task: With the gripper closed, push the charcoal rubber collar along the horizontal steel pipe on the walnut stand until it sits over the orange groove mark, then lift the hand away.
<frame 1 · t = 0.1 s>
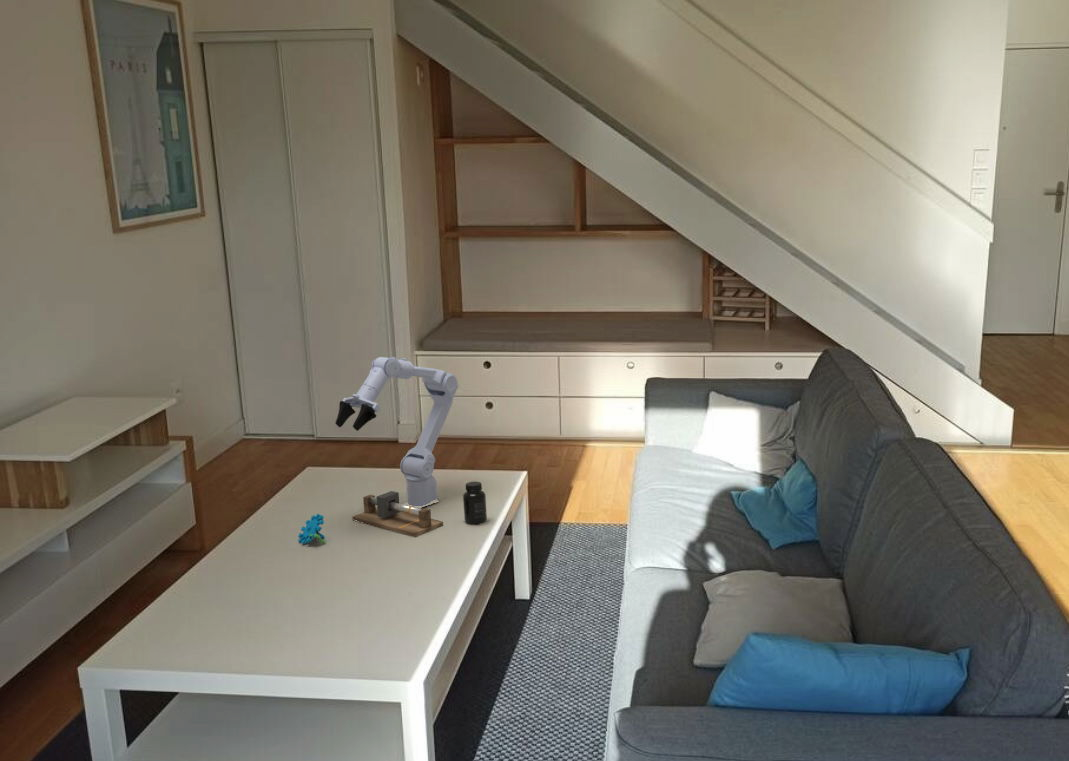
hand: (346, 427, 294), 32 cm above the table, tool tilted 50°, fingers open, 7 cm apart
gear: (312, 542, 292), on the table
supplement bottle: (475, 522, 305), on the table
collar: (388, 504, 307), point 5 cm above the table, slide at 0.0 cm
pipe stand: (397, 522, 306), on the table
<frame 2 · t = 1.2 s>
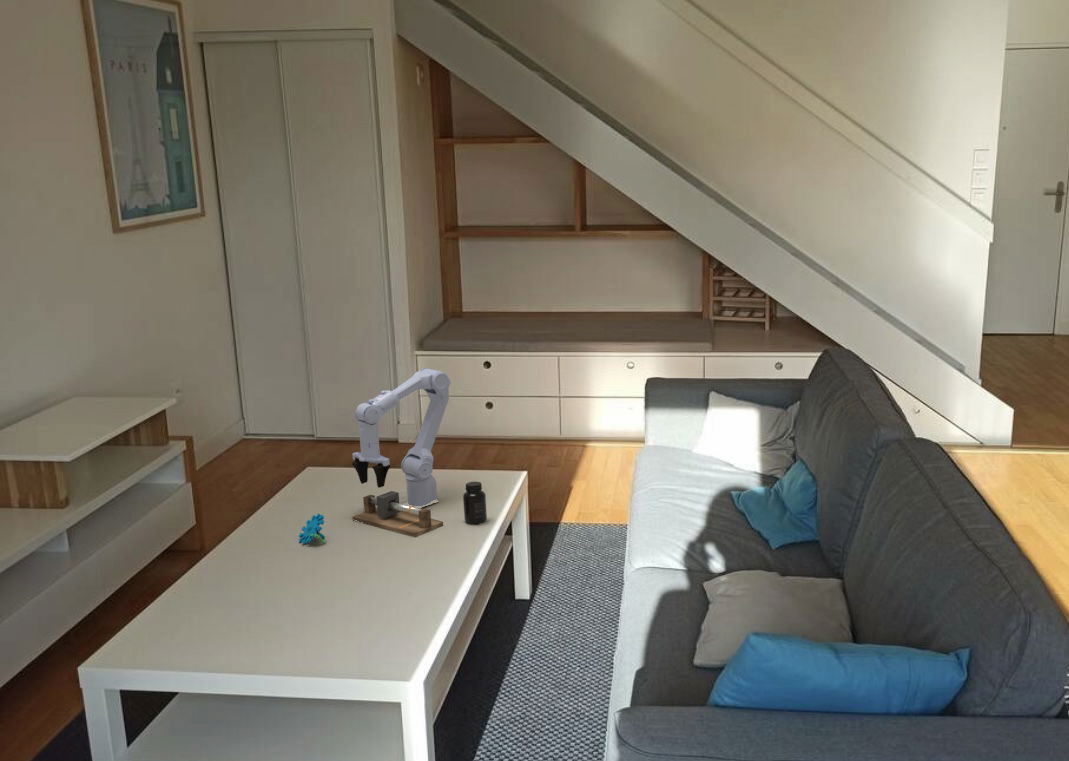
hand: (372, 484, 310), 10 cm above the table, tool pointing down, fingers open, 7 cm apart
nothing on the table moved.
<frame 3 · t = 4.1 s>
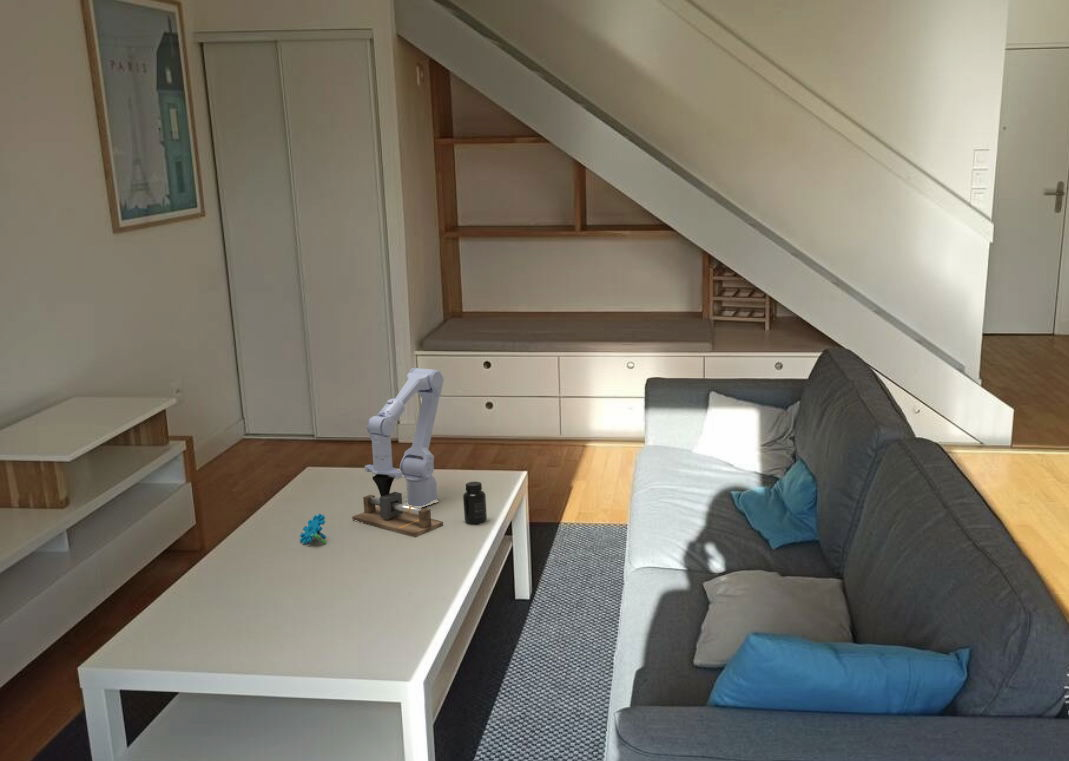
hand: (385, 497, 307), 7 cm above the table, tool pointing down, fingers closed
collar: (391, 505, 306), point 5 cm above the table, slide at 1.3 cm, touching gripper
everything else where it was.
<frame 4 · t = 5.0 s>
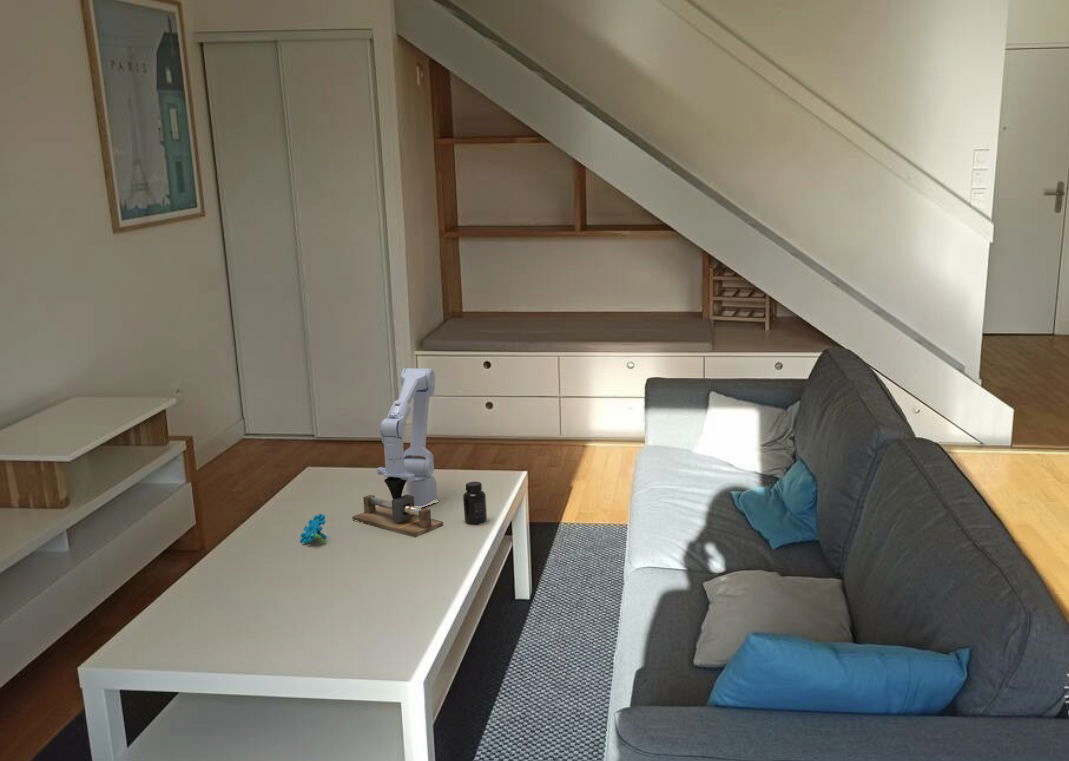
hand: (397, 500, 304), 7 cm above the table, tool pointing down, fingers closed
collar: (403, 508, 303), point 5 cm above the table, slide at 6.5 cm, touching gripper
everything else where it was.
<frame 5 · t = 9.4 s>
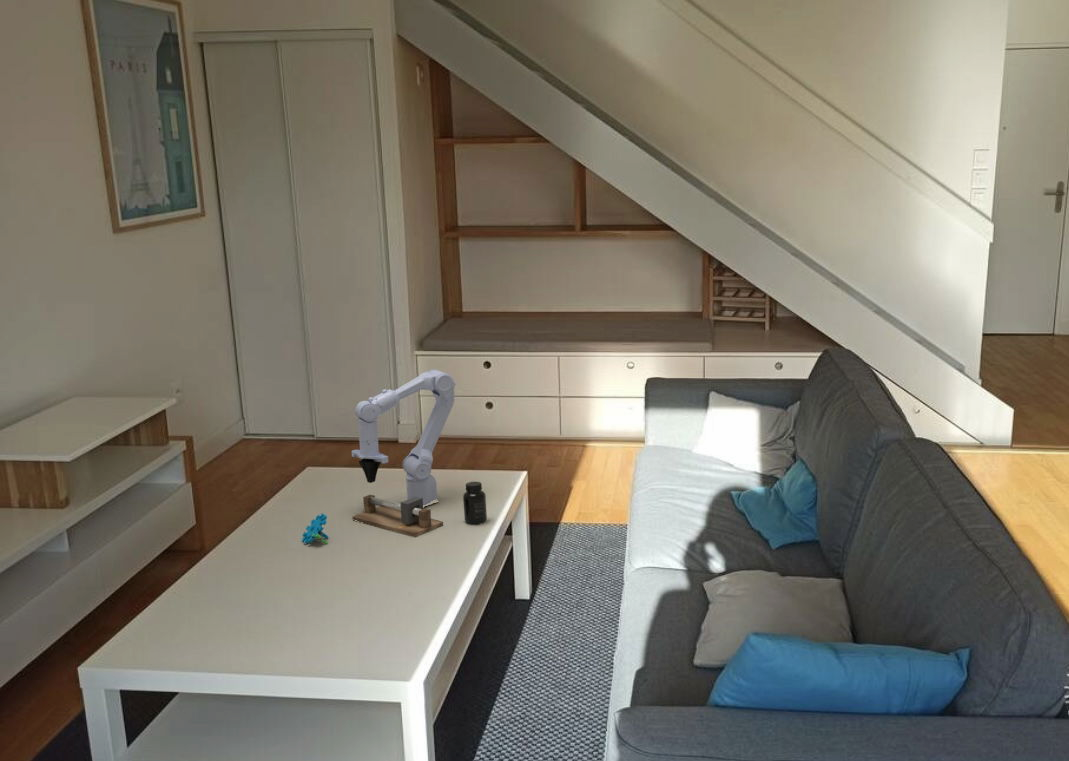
hand: (371, 481, 313), 10 cm above the table, tool pointing down, fingers closed
collar: (412, 510, 300), point 5 cm above the table, slide at 10.3 cm
everything else where it was.
at the end: collar slide at 10.3 cm; the gripper is holding nothing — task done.
